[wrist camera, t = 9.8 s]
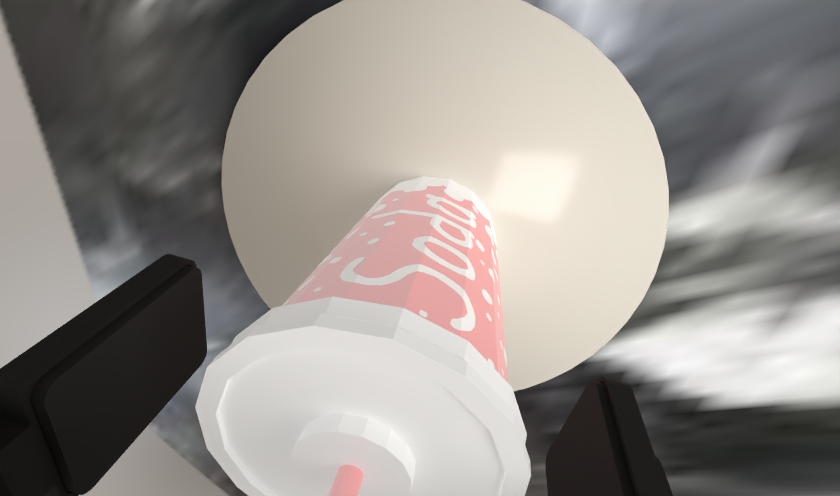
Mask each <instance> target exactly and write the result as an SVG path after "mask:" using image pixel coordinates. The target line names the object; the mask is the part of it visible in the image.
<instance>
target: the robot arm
mask: <svg viewBox="0 0 840 496" xmlns="http://www.w3.org/2000/svg"><path fill="white" fill-rule="evenodd" d="M206 353H207V342H206V328H205V315H204V301H203V287H202V274H201V271H200V269H198V268H197V267H196V264H195V262H194V261H192V260H189V259H185V258H182V257H178V256H175V255H171V254H166V255H164V256H162V257H161V258H159V259H158V260H157V261H155V262H154V263H152V264H151V265H149V266H148V267H146V268H145V269H144V270H142V271H141V272H139V273H138V274H136V275H135V276H133V277H132V278H131V279H129V280H128V281H126V282H125V283H123V284H122V285H120V286H119V287H118V288H116V289H115V290H113V291H112V292H110V293H109V294H107V295H106V296H105V297H103V298H102V299H100V300H99V301H97V302H96V303H94V304H93V305H92V306H90V307H89V308H87V309H86V310H84V311H83V312H81V313H80V314H79V315H77V316H76V317H74V318H73V319H71V320H70V321H69V322H67V323H66V324H64V325H63V326H61V327H60V328H58V329H57V330H55V331H54V332H53V333H51V334H50V335H48V336H47V337H45V338H44V339H42V340H41V341H40V342H38V343H37V344H35V345H34V346H32V347H31V348H30V349H28V350H27V351H25V352H24V353H22V354H21V355H19V356H18V357H17V358H15V359H14V360H12V361H11V362H9V363H8V364H6V365H5V366H4V367H2V368H1V369H0V496H78V495H83V494H85V493H87V492H88V491H89V490H91V489H92V488H93V487H94V486H95V485H96V484H97V483H98V481H99V480H100V479H101V478H102V477H103V476H104V475H105V473H106V472H107V471H108V470H109V469H110V468H111V467H112V466H113V464H114V463H115V462H116V461H117V460H118V459H119V458H120V456H121V455H122V454H123V453H124V452H125V450H127V448H128V447H129V446H130V445H131V444H132V443H133V442H134V441H135V439H136V438H137V437H138V436H139V435H140V434H141V432H142V431H143V430H144V429H145V428H146V427H147V426H148V425H149V423H150V422H151V421H152V420H153V419H154V418H155V417H156V416H157V414H158V413H159V412H160V411H161V410H162V409H163V408H164V406H165V405H166V404H167V403H168V402H169V401H170V400H171V398H172V397H173V396H174V395H175V394H176V393H177V392H178V391H179V389H180V388H181V387H182V386H183V385H184V384H185V383H186V381H187V380H188V379H189V378H190V377H191V376H192V375H193V373H194V372H195V371H196V370H197V369H198V368H199V367H200V365H201V364H202V363H203V361H204V359H205V357H206ZM546 477H547V488H548V496H673V495H672V492H671V489H670V486H669V483H668V481H667V478H666V475H665V472H664V469H663V467H662V465H661V463H660V460H659V459H658V458H657V457H656V456H655V455H654V452H653V449H652V446H651V443H650V440H649V437H648V434H647V431H646V428H645V425H644V423H643V420H642V417H641V414H640V411H639V408H638V405H637V402H636V399H635V396H634V393H633V390H632V388H631V386H630V385H629V384H627V383H624V382H620V381H617V380H613V379H610V378H606V377H600V378H599V379H598V380H597V382H596V381H590V382H589V383H588V385H587V387H586V388H585V390H584V392H583V393H582V395H581V397H580V398H579V400H578V402H577V403H576V405H575V407H574V409H573V410H572V412H571V414H570V415H569V417H568V419H567V420H566V422H565V424H564V425H563V427H562V429H561V431H560V432H559V434H558V436H557V437H556V439H555V441H554V442H553V444H552V446H551V447H550V449H549V451H548V454H547V458H546Z"/></svg>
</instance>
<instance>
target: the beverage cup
mask: <svg viewBox="0 0 840 496" xmlns="http://www.w3.org/2000/svg"><path fill="white" fill-rule="evenodd" d="M195 408H196V411H197V415H198V418H199V422H200V425H201V429H202V432H203V436H204V439H205V443H206V446H207V449H208V450H209V452H210V453H211V454H212V455H213V457H214V458H215V459H216V461H217V462H218V463H219V464H220V466H221V467H222V468H223V469H224V471H225V472H226V473H227V475H228V476H229V477H230V478H231V480H232V481H233V482H234V483H235V485H236V486H237V487H238V488H239V489H241V490H242V491H243V492H245V493H246V494H247V495H249V496H525V493H526V490H527V486H528V483H529V480H530V477H531V470H530V459H529V456H528V453H527V450H526V447H525V441H526V437H527V433H526V430H525V427H524V424H523V421H522V417H521V414H520V411H519V408H518V405H517V402H516V398H515V395H514V392H513V389H512V387H511V386H510V385H509V381H508V370H507V358H506V347H505V336H504V325H503V313H502V302H501V291H500V279H499V268H498V257H497V246H496V234H495V231H494V227H493V224H492V220H491V216H490V213H489V211H488V210H487V208H486V207H485V206H484V205H483V204H482V202H481V201H480V200H479V199H478V197H477V196H476V195H475V194H474V193H473V192H472V191H470V190H468V189H467V188H465V187H463V186H461V185H459V184H457V183H455V182H454V181H452V180H450V179H442V178H434V177H426V176H422V177H419V178H415V179H411V180H407V181H404V182H400V183H398V184H397V185H396V186H395V187H393V188H392V189H391V190H390V191H388V192H387V193H386V194H385V195H383V196H382V197H381V198H380V199H379V200H378V201H377V202H376V203H375V205H374V206H373V207H372V208H371V209H370V210H369V211H368V212H367V213H366V214H365V215H364V217H363V218H362V219H361V220H360V221H359V222H358V223H357V224H356V225H355V226H354V227H353V229H352V230H351V231H350V232H349V233H348V234H347V235H346V236H345V237H344V238H343V239H342V241H341V242H340V243H339V244H338V245H337V246H336V247H335V248H334V249H333V250H332V251H331V253H330V254H329V255H328V256H327V257H326V258H325V259H324V260H323V261H322V262H321V263H320V265H319V266H318V267H317V268H316V269H315V270H314V271H313V272H312V273H311V274H310V275H309V277H308V278H307V279H306V280H305V281H304V282H303V283H302V284H301V285H300V286H299V287H298V289H297V290H296V291H295V292H294V293H293V294H292V295H291V296H290V297H289V298H288V299H287V301H286V302H285V303H284V304H283V305H282V306H280V307H275V308H272V309H271V310H269V311H268V312H267V313H266V314H264V315H263V316H262V317H260V318H259V319H258V320H256V321H255V322H254V323H253V324H251V325H250V326H249V327H247V328H246V329H245V330H243V331H242V332H241V333H240V334H238V335H237V336H236V337H235V338H234V340H233V342H232V344H231V345H230V346H229V347H228V348H226V349H225V350H224V351H222V352H221V353H220V354H218V355H217V356H216V357H215V359H214V360H213V361H212V362H211V363H210V364H209V366H208V367H207V369H206V373H205V376H204V379H203V383H202V386H201V389H200V393H199V396H198V399H197V403H196V406H195Z"/></svg>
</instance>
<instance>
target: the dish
mask: <svg viewBox="0 0 840 496" xmlns="http://www.w3.org/2000/svg"><path fill="white" fill-rule="evenodd" d="M422 176H426V177H434V178H442V179H450V180H452V181H454V182H455V183H457V184H459V185H461V186H463V187H465V188H467V189H468V190H470V191H472V192H473V193H474V194H475V195H476V196H477V197H478V199H479V200H480V201H481V202H482V204H483V205H484V206H485V207H486V208H487V210H488V211H489V213H490V216H491V220H492V224H493V227H494V231H495V234H496V246H497V257H498V268H499V279H500V291H501V302H502V313H503V325H504V336H505V347H506V358H507V370H508V381H509V385H510V386H511V387H512V389H513V391H517V390H521V389H525V388H528V387H531V386H534V385H536V384H539V383H542V382H545V381H547V380H550V379H552V378H554V377H556V376H558V375H560V374H562V373H564V372H566V371H568V370H570V369H572V368H573V367H575V366H576V365H578V364H579V363H581V362H582V361H584V360H586V359H587V358H589V357H590V356H592V355H593V354H594V353H595V352H596V351H598V350H599V349H600V348H601V347H602V346H604V345H605V344H606V343H607V342H608V341H610V340H611V339H612V337H613V336H614V335H615V334H616V333H617V332H618V331H619V330H620V329H621V328H622V327H623V326H624V324H625V323H626V322H627V321H628V320H629V318H630V317H631V315H632V314H633V313H634V311H635V310H636V308H637V307H638V305H639V304H640V303H641V301H642V300H643V298H644V296H645V294H646V292H647V290H648V288H649V286H650V284H651V282H652V280H653V278H654V276H655V273H656V270H657V267H658V264H659V261H660V258H661V255H662V252H663V249H664V244H665V238H666V232H667V226H668V213H669V188H668V182H667V175H666V169H665V162H664V157H663V154H662V151H661V148H660V145H659V142H658V139H657V136H656V132H655V129H654V126H653V124H652V123H651V121H650V119H649V117H648V115H647V113H646V111H645V109H644V107H643V105H642V103H641V101H640V99H639V97H638V95H637V94H636V93H635V91H634V90H633V89H632V87H631V86H630V85H629V83H628V82H627V81H626V79H625V78H624V76H623V75H622V74H621V72H620V71H619V70H618V68H617V67H616V66H615V65H614V64H613V63H612V62H611V61H610V60H609V59H608V58H607V57H606V56H605V55H604V54H603V53H602V52H601V51H600V50H599V49H598V48H597V47H596V46H595V45H594V44H593V43H592V42H591V41H589V40H588V39H587V38H585V37H584V36H582V35H581V34H580V33H578V32H577V31H575V30H574V29H573V28H571V27H570V26H568V25H567V24H566V23H564V22H563V21H561V20H560V19H558V18H556V17H554V16H552V15H550V14H548V13H546V12H544V11H542V10H540V9H539V8H537V7H535V6H533V5H531V4H529V3H527V2H524V1H521V0H343V1H341V2H339V3H337V4H335V5H333V6H332V7H330V8H328V9H326V10H324V11H322V12H320V13H318V14H316V15H314V16H312V17H311V18H310V19H308V20H307V21H306V22H304V23H303V24H301V25H300V26H299V27H297V28H296V29H295V30H293V31H292V32H291V33H289V34H288V35H287V36H286V37H285V38H284V39H283V40H282V41H281V42H280V43H279V44H278V45H277V46H276V47H275V48H274V49H273V50H272V51H271V52H270V53H269V54H268V55H267V56H266V57H265V58H264V60H263V61H262V62H261V64H260V65H259V67H258V68H257V69H256V71H255V72H254V74H253V75H252V77H251V78H250V79H249V81H248V82H247V84H246V86H245V88H244V90H243V92H242V94H241V96H240V98H239V100H238V102H237V104H236V106H235V109H234V112H233V115H232V118H231V121H230V125H229V128H228V131H227V134H226V140H225V146H224V152H223V158H222V195H223V204H224V212H225V216H226V220H227V225H228V229H229V233H230V236H231V239H232V242H233V245H234V247H235V250H236V253H237V256H238V258H239V260H240V262H241V264H242V266H243V268H244V270H245V272H246V274H247V276H248V278H249V280H250V281H251V283H252V284H253V286H254V287H255V289H256V291H257V292H258V294H259V295H260V297H261V298H262V299H263V301H264V302H265V303H266V304H267V306H268V307H269V308H270V309H272V308H275V307H280V306H282V305H283V304H284V303H285V302H286V301H287V299H288V298H289V297H290V296H291V295H292V294H293V293H294V292H295V291H296V290H297V289H298V287H299V286H300V285H301V284H302V283H303V282H304V281H305V280H306V279H307V278H308V277H309V275H310V274H311V273H312V272H313V271H314V270H315V269H316V268H317V267H318V266H319V265H320V263H321V262H322V261H323V260H324V259H325V258H326V257H327V256H328V255H329V254H330V253H331V251H332V250H333V249H334V248H335V247H336V246H337V245H338V244H339V243H340V242H341V241H342V239H343V238H344V237H345V236H346V235H347V234H348V233H349V232H350V231H351V230H352V229H353V227H354V226H355V225H356V224H357V223H358V222H359V221H360V220H361V219H362V218H363V217H364V215H365V214H366V213H367V212H368V211H369V210H370V209H371V208H372V207H373V206H374V205H375V203H376V202H377V201H378V200H379V199H380V198H381V197H382V196H383V195H385V194H386V193H387V192H388V191H390V190H391V189H392V188H393V187H395V186H396V185H397V184H398V183H400V182H404V181H407V180H411V179H415V178H419V177H422Z"/></svg>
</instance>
